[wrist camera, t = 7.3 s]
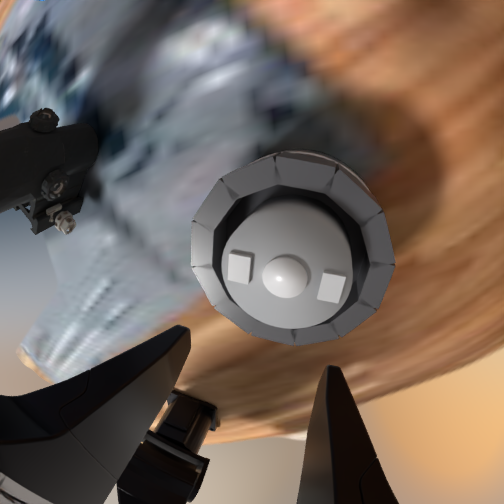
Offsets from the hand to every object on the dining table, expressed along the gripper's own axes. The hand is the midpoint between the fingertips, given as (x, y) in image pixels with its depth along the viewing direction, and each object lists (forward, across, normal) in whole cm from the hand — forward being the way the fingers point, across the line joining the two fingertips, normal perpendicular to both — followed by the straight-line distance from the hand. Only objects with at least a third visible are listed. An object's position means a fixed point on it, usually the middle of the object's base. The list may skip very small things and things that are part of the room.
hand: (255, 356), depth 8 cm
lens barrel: (+11, 0, 0) cm, 11 cm away
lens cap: (+8, 0, 0) cm, 8 cm away
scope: (+11, +19, -3) cm, 22 cm away
